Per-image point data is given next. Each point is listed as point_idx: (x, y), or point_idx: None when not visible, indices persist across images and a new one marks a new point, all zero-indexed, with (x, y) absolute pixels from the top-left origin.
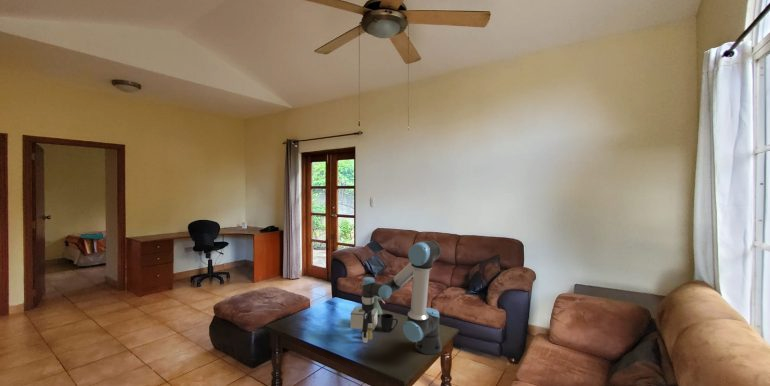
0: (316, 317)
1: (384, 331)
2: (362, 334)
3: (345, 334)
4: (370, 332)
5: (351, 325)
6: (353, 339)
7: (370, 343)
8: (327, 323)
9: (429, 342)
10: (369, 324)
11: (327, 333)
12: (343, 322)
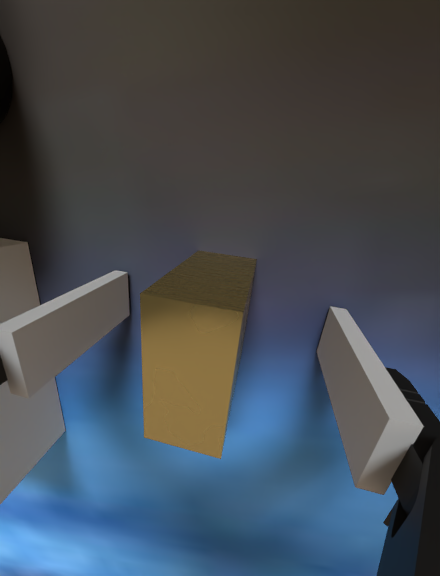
0: (18, 553)
1: (8, 94)
2: (234, 388)
3: (175, 466)
4: (245, 311)
5: (46, 444)
6: (257, 424)
7: (358, 266)
8: (58, 527)
9: None
10: (28, 355)
11: (181, 546)
12: None
